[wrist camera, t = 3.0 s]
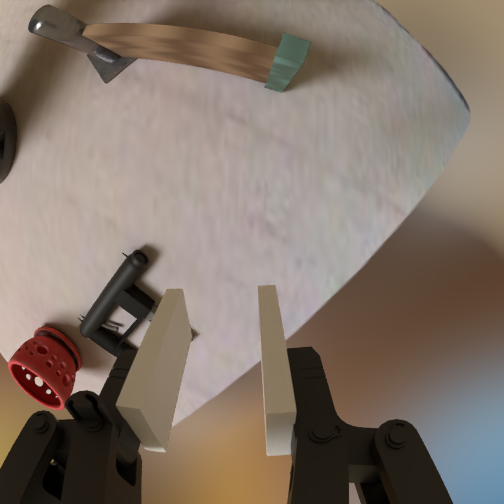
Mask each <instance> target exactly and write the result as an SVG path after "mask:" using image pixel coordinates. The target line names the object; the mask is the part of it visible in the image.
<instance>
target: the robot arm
mask: <svg viewBox="0 0 504 504" xmlns="http://www.w3.org/2000/svg"><path fill="white" fill-rule="evenodd" d="M15 146H16V124H15V118H14V115H13V112H12V110H11V108H10V106H9V105H8V104H7V103H6V102H4V101H0V183H1V182H2V181H3V180H4V179H5V177H6V176H7V174H8V172H9V170H10V167H11V165H12V161H13V158H14V153H15ZM258 301H259V326H260V346H261V362H262V379H263V396H264V413H265V430H266V447H267V456H275V455H288V454H291V455H292V467H291V472H290V475H291V476H290V485H289V493H288V501H287V504H349V483H355V487H356V489H357V493H358V496H359V499H360V502H361V504H453V502H452V500H451V498H450V496H449V493H448V491H447V489H446V487H445V485H444V483H443V481H442V479H441V477H440V474H439V472H438V470H437V469H436V466H435V464H434V462H433V460H432V459H431V457H430V455H429V452H428V451H427V449H426V447H425V445H424V443H423V441H422V439H421V437H420V435H419V434H418V432H417V430H416V429H415V428H414V426H413V425H412V424H410V423H409V422H407V421H404V420H398V419H395V420H389V421H387V422H385V423H383V424H382V425H381V426H380V427H379V428H363V427H355V426H351V425H349V424H347V423H345V422H344V421H342V420H341V419H340V418H339V416H338V415H337V413H336V411H335V408H334V404H333V401H332V397H331V394H330V390H329V386H328V383H327V379H326V377H325V372H324V369H323V365H322V362H321V359H320V356H319V354H318V353H317V352H316V351H315V350H314V349H313V348H312V347H300V348H288V349H286V343H285V337H284V331H283V326H282V320H281V314H280V308H279V303H278V297H277V291H276V286H275V285H268V286H258ZM191 339H192V333H191V328H190V324H189V319H188V314H187V309H186V304H185V298H184V293H183V289H166V292H165V294H164V296H163V298H162V300H161V302H160V304H159V306H158V308H157V310H156V312H155V315H154V317H153V319H152V321H151V323H150V325H149V328H148V330H147V332H146V334H145V336H144V339H143V341H142V343H141V345H140V348H139V350H129V349H126V350H125V351H124V352H123V353H122V354H121V355H120V356H119V357H117V359H116V361H115V363H114V365H113V367H112V368H113V369H111V372H110V374H109V378H107V380H106V382H105V384H104V386H103V389H102V391H101V393H100V395H99V396H98V395H97V394H96V393H94V392H92V391H87V390H86V391H79V392H77V393H74V394H72V395H71V396H70V397H69V398H68V399H67V400H66V402H65V404H64V406H65V407H66V409H67V410H68V411H69V413H70V414H71V415H72V417H73V418H74V419H67V420H57V419H56V418H55V416H54V415H53V414H52V413H50V412H49V411H44V410H43V411H38V412H36V413H34V414H33V415H32V416H31V417H30V418H29V419H28V421H27V422H26V424H25V426H24V427H23V429H22V431H21V432H20V434H19V436H18V438H17V439H16V441H15V443H14V445H13V446H12V448H11V450H10V452H9V453H8V455H7V457H6V459H5V461H4V463H3V465H2V467H1V469H0V504H141V477H142V476H141V475H142V459H141V455H140V454H139V452H138V449H139V446H140V443H141V444H142V445H143V447H144V448H145V449H146V450H152V451H158V452H166V451H167V446H168V441H169V436H170V431H171V427H172V422H173V417H174V412H175V408H176V403H177V399H178V394H179V390H180V385H181V381H182V376H183V372H184V368H185V364H186V359H187V355H188V351H189V347H190V343H191ZM52 459H53V460H54V462H53V463H51V461H52Z"/></svg>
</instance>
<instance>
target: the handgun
mask: <svg viewBox="0 0 504 504" xmlns="http://www.w3.org/2000/svg"><path fill="white" fill-rule="evenodd" d="M122 254H123V255H125V256H126V257H127V258H126V259H125V261H124V262H123V263H122V265H121V266H120V267H119V269H118V270H117V272H116V273H115V274H114V276H113V277H112V278H111V280H110V281H109V283H108V284H107V286H106V287H105V288H104V290H103V291H102V293H101V294H100V296H99V297H98V299H97V300H96V301H95V303H94V304H93V306H92V307H91V309H90V310H89V312H88V314H87V315H86V317H83V316H82V315H81V316H82V317H83V318H84V320H83V321H82V320H81V319H80V320H81V321H82V323H81V324H80V328H79V329H80V333H81V334H82V336H84V337H85V338H90V339H91V340H92V341H94V342H95V343H97V344H98V345H99V346H101V347H102V348H104V349H105V350H106V351H108V352H109V353H111V354H112V355H114V356H115V357H119V356H120V355H121V354H122V353H123V352H124V351H125V350H126V349H129V350H134V349H133V348H131V347H130V346H128V345H127V344H125V343H124V342H123V341H124V340H125V339H126V338H127V337H128V336H129V334H130V333H131V332H132V331H133V330H134V329H135V328H136V327H137V326H138V325H139V324H140V323H141V322H142V320H143V319H144V318H146V319H148V320H149V321H152V319H153V317H154V315H155V312H156V310H157V307H156V306H154V303H155V301H154V300H153V299H151V298H150V297H149V296H148V295H146V294H145V293H144V292H143V291H142V290H140V289H139V288H138V287H137V286H136V285H134V283H135V282H136V281H137V279H138V278H139V277H140V276H141V274H142V273H143V272H144V271H145V269H146V266H147V265H148V263H149V260H148V258H147V256H146V255H145V254H144V253H143V252H141V251H139V250H135V251H134V252H133V253H132V254H130V255H129V256H127V255H126V254H124V253H122ZM117 304H118V305H119V306H120V307H122V308H123V309H124V310H126V311H127V312H129V313H130V314H131V315H133V316H134V317H135V318H137V320H136V321H135V322H134V323H133V324H132V325H131V326H130V328H129V329H128V330H127V331H126V332H125V333H124V334H123V335H122V337H121V338H120V339H118V338H117V337H115V336H114V335H113V334H111V333H110V332H108V331H107V330H106V329H104V328H103V327H105V328H107V329H110V330H115V331H118V327H115V326H110V325H107V324H105V323H104V321H105V320H106V319H107V317H108V316H109V315H110V313H111V312H112V311H113V310H114V308H115V307H116V306H117ZM77 318H78V317H77ZM102 326H103V327H102ZM193 336H194V335H193V334H192V339H191V341H193Z"/></svg>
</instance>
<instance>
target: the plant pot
mask: <svg viewBox="0 0 504 504" xmlns="http://www.w3.org/2000/svg"><path fill="white" fill-rule="evenodd" d="M22 366H23V367H25V369H24V370H23V369H22ZM8 367H9V371H10V373H11V375H12V377H13V378H14V380H15V381H16V382H17V383H18V385H19V386H20V387H21V388H22V389H23V390H24V391H25V392H26V393H27V394H28V395H29V396H31V397H32V398H33V399H35V400H36V401H37V402H39V403H41V404H42V405H44V406H46V407H49V408H51V409H55V410H62V409H64V408H65V406H64V404H65V402H66V400H67V399H68V398H69V397H70V395H71V393H72V390H73V386H74V382H75V376H76V372H77V371H78V370H79V369H80V367H81V358H80V355H79V353H78V351H77V349H76V347H75V346H74V345H73V343H72V342H71V341H70V340H69V339H68V338H67V337H66V336H65V335H63V334H62V333H61V332H59V331H57V330H55V329H53V328H50V327H41V328H38V329H37V330H36V331H35V333H34V337H33V338H31V339H29V340H28V341H26V342H25V343H24V344H23V345H22V346H21V347H20V348H19V349H18V350H17V351H16V352H15V353H14V355H13V356H12V357H11V359H10V360H9V363H8ZM26 374H29V375H30V380H28V379H27V378H26ZM35 377H40V378H41V379H42V380H43V385H42V386H37V385H36V384H35V380H34V379H35ZM48 389H49V390H51V393H50V394H47V393H46V390H48ZM56 396H58V397H57V398H56Z"/></svg>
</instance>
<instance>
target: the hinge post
mask: <svg viewBox="0 0 504 504" xmlns="http://www.w3.org/2000/svg"><path fill="white" fill-rule="evenodd" d="M86 25H87V24H85V23H83V22H82V21H80V20H78V19H76V18H74V17H73V16H71V15H69V14H67V13H65V12H63V11H61V10H59V9H58V8H56V7H54V6H52V5H44V6H43V7H41V8H40V9H39V10H37V11H36V13H35V14H34V15H33V17H32V18H31V20H30V23H29V27H28V29H29V31H30V32H31V33H34V34H37V35H40V36H43V37H46V38H49V39H51V40H54V41H57V42H60V43H62V44H65V45H68V46H70V47H73V48H75V49H78V50H80V51H82V52H85V53H87V56H88V58H89V59H90V61H91V62H92V64H93V66H94V67H95V69H96V70H97V72H98V73H99V75H100V76H101V78H102V79H103V81H104V83H106V84H107V83H108V82H109V81H110V80H112V79H113V78H114V77H115V76H116V75H117V74H118V73H120V72H121V71H122V70H123V69H124V68H126V67H127V66H128V65H129V64H131V63H132V62H133V61H134V60H136V59H137V58H129V57H122V56H120V55H118V54H117V53H115V52H113V51H111V50H109V49H107V48H106V47H104V46H102V45H100V44H98V43H96V42H94V41H92V40H90V39H88V38H87V37H85V36H83V35H82V34H83V32H84V29H85V27H86Z"/></svg>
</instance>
